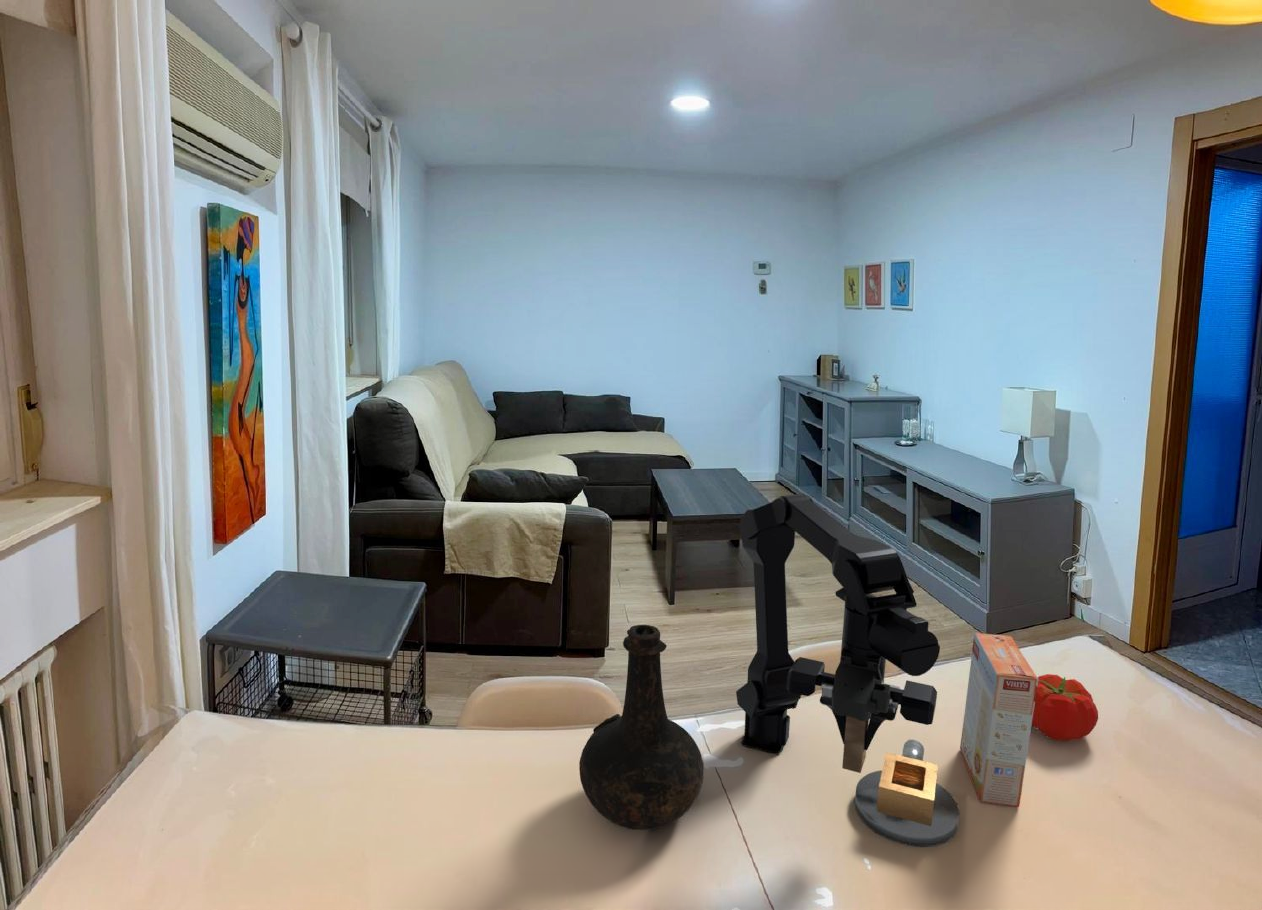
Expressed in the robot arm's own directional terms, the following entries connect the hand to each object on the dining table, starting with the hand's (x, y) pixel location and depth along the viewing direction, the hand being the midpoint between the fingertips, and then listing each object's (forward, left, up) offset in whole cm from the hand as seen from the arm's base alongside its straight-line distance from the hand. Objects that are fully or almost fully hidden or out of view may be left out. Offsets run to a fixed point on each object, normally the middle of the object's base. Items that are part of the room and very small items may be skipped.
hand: (855, 745), depth 105 cm
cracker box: (+18, +21, -13) cm, 31 cm away
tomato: (+28, +40, -13) cm, 50 cm away
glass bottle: (-28, -8, -13) cm, 32 cm away
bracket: (+7, +9, -13) cm, 17 cm away
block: (0, 0, -3) cm, 3 cm away
